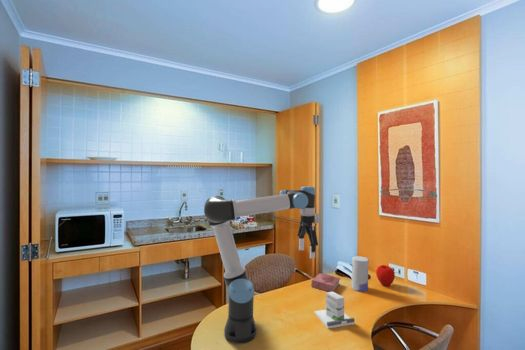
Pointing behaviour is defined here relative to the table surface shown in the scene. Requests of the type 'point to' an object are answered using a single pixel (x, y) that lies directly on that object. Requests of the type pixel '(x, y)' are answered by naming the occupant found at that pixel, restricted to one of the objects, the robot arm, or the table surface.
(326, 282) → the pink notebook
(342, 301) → the ink box
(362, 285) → the container
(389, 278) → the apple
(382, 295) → the table surface
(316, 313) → the white flat box
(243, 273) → the robot arm
